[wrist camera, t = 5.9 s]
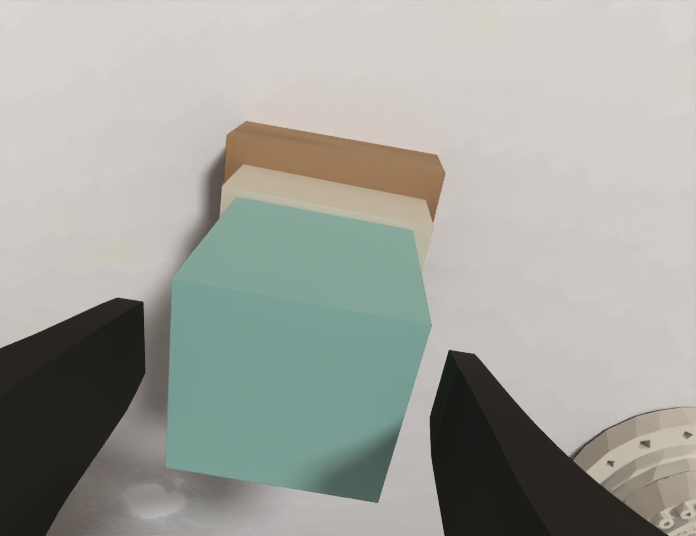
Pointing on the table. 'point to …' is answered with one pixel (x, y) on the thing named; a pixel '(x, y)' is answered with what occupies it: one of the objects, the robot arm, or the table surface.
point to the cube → (294, 349)
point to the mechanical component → (650, 467)
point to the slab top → (331, 200)
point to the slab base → (336, 161)
